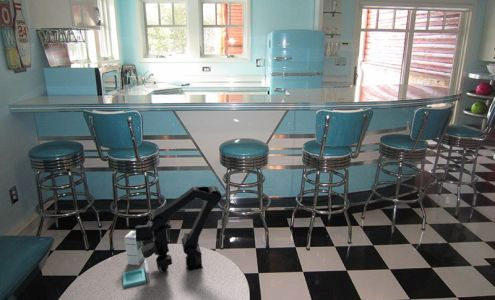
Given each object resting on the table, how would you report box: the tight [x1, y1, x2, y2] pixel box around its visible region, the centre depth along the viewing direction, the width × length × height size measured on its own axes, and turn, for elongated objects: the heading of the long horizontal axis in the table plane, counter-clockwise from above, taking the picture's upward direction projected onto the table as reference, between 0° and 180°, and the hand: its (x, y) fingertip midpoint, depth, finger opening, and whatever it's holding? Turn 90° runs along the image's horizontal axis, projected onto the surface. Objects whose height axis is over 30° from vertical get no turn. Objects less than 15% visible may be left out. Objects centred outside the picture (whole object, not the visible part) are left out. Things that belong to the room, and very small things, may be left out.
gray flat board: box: [143, 258, 151, 283], centre depth 153 cm, size 1×11×4 cm, turn 20°
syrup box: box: [123, 230, 146, 266], centre depth 161 cm, size 6×6×14 cm
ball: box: [156, 265, 170, 273], centre depth 155 cm, size 5×5×5 cm
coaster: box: [122, 267, 147, 288], centre depth 150 cm, size 9×9×1 cm
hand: (163, 268), depth 155 cm, fingers closed on ball, 5 cm apart
